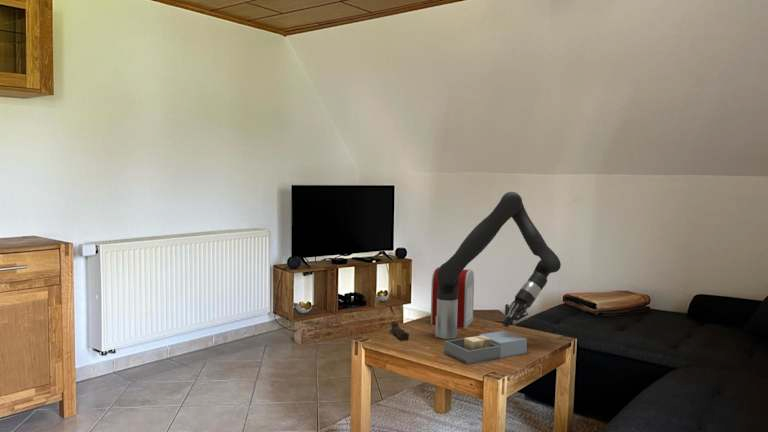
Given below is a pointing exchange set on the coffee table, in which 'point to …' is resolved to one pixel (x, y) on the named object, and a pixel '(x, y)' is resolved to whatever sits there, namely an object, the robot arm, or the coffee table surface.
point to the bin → (471, 352)
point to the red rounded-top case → (463, 298)
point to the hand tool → (399, 331)
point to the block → (476, 342)
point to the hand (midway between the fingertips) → (504, 325)
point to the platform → (508, 343)
